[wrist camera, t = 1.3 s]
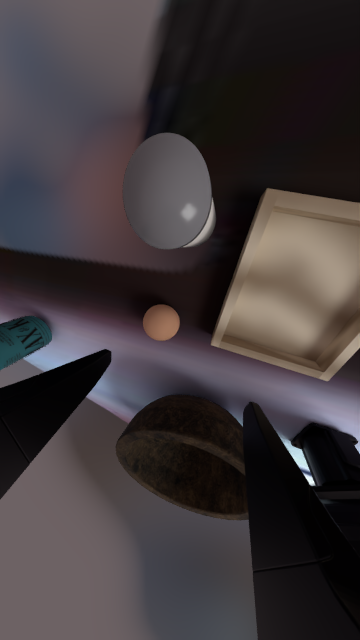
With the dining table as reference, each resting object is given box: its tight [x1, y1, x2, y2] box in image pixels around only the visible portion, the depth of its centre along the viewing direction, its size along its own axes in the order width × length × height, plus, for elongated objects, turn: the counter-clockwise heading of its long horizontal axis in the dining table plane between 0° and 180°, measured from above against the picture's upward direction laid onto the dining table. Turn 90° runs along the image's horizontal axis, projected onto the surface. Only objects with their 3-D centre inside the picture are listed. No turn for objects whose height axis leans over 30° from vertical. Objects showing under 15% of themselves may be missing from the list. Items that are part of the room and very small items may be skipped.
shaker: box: [123, 133, 216, 249], centre depth 13 cm, size 5×5×9 cm
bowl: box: [116, 395, 249, 520], centre depth 26 cm, size 22×22×10 cm
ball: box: [143, 305, 180, 341], centre depth 20 cm, size 5×5×5 cm
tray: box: [211, 188, 360, 381], centre depth 16 cm, size 16×14×2 cm
